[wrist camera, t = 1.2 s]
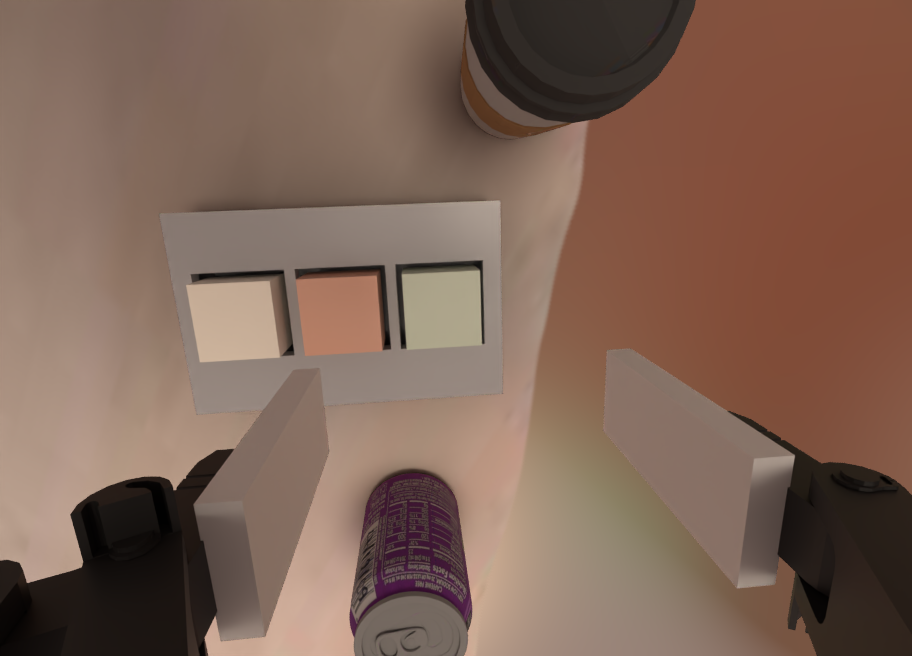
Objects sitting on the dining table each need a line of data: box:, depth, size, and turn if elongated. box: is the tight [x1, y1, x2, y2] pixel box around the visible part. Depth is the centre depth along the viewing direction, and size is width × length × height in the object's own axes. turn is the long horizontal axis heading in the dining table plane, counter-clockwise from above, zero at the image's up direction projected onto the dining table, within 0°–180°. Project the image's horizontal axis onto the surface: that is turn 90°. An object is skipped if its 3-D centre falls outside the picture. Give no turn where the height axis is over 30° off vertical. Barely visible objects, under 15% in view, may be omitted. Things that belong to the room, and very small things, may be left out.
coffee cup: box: [460, 0, 696, 139], centre depth 23 cm, size 8×8×15 cm
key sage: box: [402, 264, 482, 350], centre depth 29 cm, size 4×4×3 cm
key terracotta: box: [296, 269, 385, 356], centre depth 28 cm, size 4×4×3 cm
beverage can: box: [350, 473, 472, 656], centre depth 31 cm, size 7×7×12 cm
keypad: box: [159, 200, 503, 415], centre depth 31 cm, size 12×19×5 cm, turn 92°
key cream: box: [186, 274, 293, 362], centre depth 28 cm, size 4×4×3 cm
